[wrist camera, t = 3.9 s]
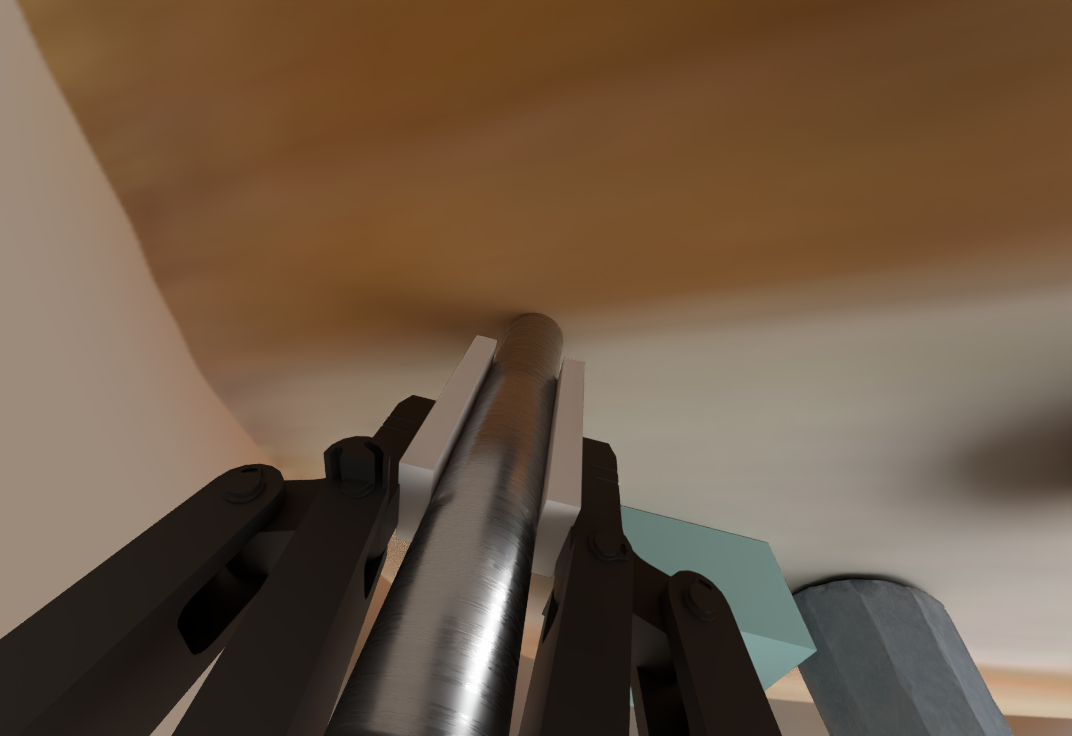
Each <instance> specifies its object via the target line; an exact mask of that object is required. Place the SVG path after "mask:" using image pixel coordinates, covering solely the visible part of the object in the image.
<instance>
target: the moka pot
mask: <svg viewBox="0 0 1072 736" xmlns="http://www.w3.org/2000/svg"><path fill="white" fill-rule="evenodd" d="M792 597H793V599H794V601H795V603H796V605H797V608H798V610H799V612H800V614H801V616H802V619H803V621H804V623H805V625H806V627H807V629H808V632H809V634H810V636H811V638H812V640H813V643H814V645H815V647H816V649H817V651H816V652H814V653H813V654H812V655H810V656H809V657H808V658H807V659H805V660H804V661H803V662H801V663H800V664H799V665H797V666H798V668H799V671H800V673H801V675H802V677H803V679H804V682H805V684H806V686H807V688H808V690H809V692H810V694H811V696H812V698H813V701H814V703H815V705H816V707H817V709H818V711H819V714H820V716H821V718H822V720H823V722H824V724H825V726H826V728H827V730H828V732H829V734H830V736H1014V735H1013V733H1012V731H1011V729H1010V727H1009V725H1008V724H1007V722H1006V720H1005V718H1004V716H1003V714H1002V713H1001V711H1000V710H999V708H998V706H997V705H996V703H995V701H994V700H993V698H992V696H991V694H990V692H989V690H988V688H987V686H986V684H985V682H984V680H983V678H982V676H981V674H980V672H979V671H978V669H977V667H976V665H975V663H974V661H973V660H972V658H971V656H970V654H969V652H968V650H967V648H966V646H965V644H964V642H963V640H962V638H961V637H960V635H959V633H958V631H957V629H956V627H955V625H954V624H953V622H952V620H951V618H950V616H949V614H948V613H947V612H946V610H945V609H944V605H943V604H942V603H941V602H939V601H938V600H936V599H935V598H934V597H932V596H930V595H928V594H927V593H926V592H923V591H921V590H919V589H916V588H912V587H907V586H904V585H901V584H898V583H895V582H889V581H881V580H859V579H850V580H844V581H835V582H830V583H827V584H823V585H819V586H815V587H809V588H808V589H806V590H803V591H801V592H799V593H797V594H795V595H793V596H792Z"/></svg>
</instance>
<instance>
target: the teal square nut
mask: <svg viewBox="0 0 1072 736" xmlns="http://www.w3.org/2000/svg"><path fill="white" fill-rule="evenodd" d="M621 517H622V528H623V533H624V535H625V536H626V537H627V539H628V541H629V542H630V544H631V546H632V549H633V551H634V552H635V553H636V554H637V555H638V556H639V557H640V558H641V559H643V560H644V561H646V562H647V563H649V564H650V565H652V566H654V567H656V568H657V569H659V570H661V571H662V572H664V573H666V574H668V575H669V576H672V575H674V574H675V573H676V572H678V571H683V570H690V571H693V572H696V573H699V574H702V575H703V576H704V577H706V578H707V579H709V580H710V581H712V582H713V583H714V584H715V585H716V586H717V587H718V589H719V590H720V591H721V592H722V593H723V595H724V596H725V598H726V600H727V602H728V604H729V605H730V608H731V610H732V613H733V615H734V618H735V620H736V623H737V625H738V628H739V630H740V633H741V635H742V638H743V640H744V643H745V645H746V648H747V650H748V652H749V655H750V657H751V660H752V662H753V665H754V667H755V670H756V672H757V675H758V677H759V680H760V682H761V685H762V687H763V690H764V691H765V690H766V689H768V688H769V687H770V686H771V685H773V684H774V683H775V682H777V681H778V680H779V679H781V678H782V677H783V676H784V675H786V674H787V673H788V672H790V671H791V670H792V669H794V668H795V667H796V666H797V665H799V664H800V663H801V662H803V661H804V660H805V659H807V658H808V657H809V656H810V655H812V654H813V653H814V652H816V651H817V649H816V647H815V645H814V643H813V640H812V638H811V636H810V634H809V632H808V629H807V627H806V625H805V623H804V621H803V619H802V616H801V614H800V612H799V610H798V608H797V605H796V603H795V601H794V599H793V597H792V594H791V592H790V590H789V588H788V586H787V583H786V581H785V579H784V577H783V575H782V573H781V570H780V568H779V566H778V564H777V562H776V559H775V557H774V555H773V553H772V551H771V548H770V546H769V544H768V543H766V542H762V541H758V540H754V539H750V538H746V537H742V536H738V535H734V534H730V533H726V532H723V531H719V530H715V529H711V528H707V527H703V526H699V525H695V524H691V523H687V522H683V521H679V520H675V519H671V518H667V517H663V516H659V515H655V514H652V513H648V512H644V511H640V510H636V509H632V508H628V507H624V506H621ZM630 706H633V707H634V704H633V698H632V691H631V687H630Z"/></svg>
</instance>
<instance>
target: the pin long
mask: <svg viewBox="0 0 1072 736" xmlns="http://www.w3.org/2000/svg"><path fill="white" fill-rule="evenodd" d="M562 346H563V336H562V332H561V330H560V328H559V326H558V325H557V324H556V323H555V322H554V321H553V320H552V319H551V318H549V317H547V316H545V315H542V314H537V313H529V314H525V315H522V316H520V317H518V318H517V319H515V320H514V321H513V322H512V323H511V325H510V326H509V329H508V331H507V333H506V335H505V337H504V340H503V342H502V344H501V346H500V348H499V351H498V353H497V355H496V357H495V359H494V362H493V364H492V366H491V368H490V370H489V373H488V375H487V377H486V379H485V381H484V384H483V386H482V388H481V390H480V392H479V395H478V397H477V399H476V401H475V403H474V406H473V408H472V410H471V412H470V414H469V417H468V419H467V421H466V423H465V425H464V428H463V430H462V432H461V434H460V436H459V439H458V441H457V443H456V445H455V447H454V450H453V452H452V454H451V456H450V458H449V461H448V463H447V465H446V467H445V469H444V471H443V474H442V476H441V478H440V480H439V482H438V485H437V487H436V489H435V491H434V493H433V496H432V498H431V500H430V502H429V504H428V506H427V509H426V511H425V513H424V515H423V517H422V520H421V522H420V524H419V526H418V528H417V531H416V533H415V535H414V537H413V539H412V542H411V544H410V546H409V548H408V550H407V553H406V555H405V557H404V559H403V561H402V564H401V566H400V568H399V570H398V572H397V575H396V577H395V579H394V581H393V583H392V585H391V588H390V590H389V592H388V594H387V597H386V599H385V601H384V604H383V605H382V608H381V610H380V612H379V614H378V616H377V618H376V621H375V623H374V625H373V627H372V629H371V632H370V634H369V636H368V638H367V640H366V643H365V645H364V647H363V649H362V651H361V654H360V656H359V658H358V660H357V662H356V665H355V667H354V669H353V671H352V673H351V675H350V678H349V680H348V682H347V684H346V687H345V689H344V691H343V693H342V695H341V698H340V700H339V702H338V704H337V706H336V709H335V711H334V713H333V715H332V717H331V720H330V722H329V724H328V726H327V728H326V730H325V733H324V735H323V736H509V731H510V724H511V717H512V709H513V702H514V695H515V688H516V680H517V673H518V666H519V659H520V651H521V644H522V637H523V630H524V622H525V615H526V608H527V600H528V593H529V586H530V579H531V571H532V564H533V557H534V550H535V542H536V535H537V524H538V516H539V509H540V502H541V495H542V488H543V480H544V473H545V466H546V459H547V452H548V445H549V437H550V430H551V423H552V416H553V409H554V402H555V394H556V387H557V380H558V375H559V368H560V360H561V353H562Z"/></svg>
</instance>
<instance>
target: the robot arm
mask: <svg viewBox="0 0 1072 736" xmlns="http://www.w3.org/2000/svg"><path fill="white" fill-rule="evenodd" d="M496 343H497V340H495V339H491V338H487V337H483V336H479V335H477V336H476V337H475V339H474V341H473V342H472V344H471V346H470V347H469V349H468V350H467V352H466V354H465V355H464V357H463V359H462V360H461V362H460V364H459V365H458V367H457V368H456V370H455V372H454V373H453V375H452V377H451V378H450V380H449V382H448V383H447V385H446V386H445V388H444V390H443V391H442V393H441V395H440V396H439V398H438V400H437V401H435V400H431V399H427V398H423V397H419V396H415V395H412V396H410V397H408V398H407V399H405V400H403V401H401V402H400V403H399V404H398V405H397V406H396V407H395V409H394V410H393V411H392V413H391V414H390V417H388V418H387V419H386V421H385V422H384V423H383V426H381V427H380V429H379V430H378V431H377V433H376V434H375V435H374V437H373V438H371V437H368V436H354V437H350V438H345V439H342V440H340V441H338V442H336V443H334V444H332V445H331V446H330V447H329V448H328V449H327V450H326V451H325V452H324V462H325V473H326V478H323V479H315V480H284V479H283V477H282V474H281V472H280V471H279V470H277V469H276V468H274V467H273V466H269V465H264V464H251V465H244V466H241V467H238V468H234V469H231V470H229V471H227V472H225V473H224V474H222V475H220V476H218V477H217V478H215V479H214V480H213V481H212V482H210V483H209V484H208V485H206V486H205V487H203V488H202V489H201V490H199V491H198V492H197V493H195V494H194V495H193V496H192V497H190V498H189V499H188V500H186V501H185V502H183V503H182V504H181V505H179V506H178V507H177V508H175V509H174V510H173V511H171V512H170V513H169V514H167V515H166V516H165V517H163V518H162V519H161V520H159V521H158V522H157V523H155V524H154V525H153V526H151V527H150V528H149V529H147V530H146V531H144V532H143V533H142V534H141V535H139V536H138V537H136V538H135V539H134V540H132V541H131V542H130V543H129V544H127V545H126V546H124V547H123V548H122V549H121V550H119V551H118V552H116V553H115V554H114V555H113V556H111V557H110V558H108V559H107V560H106V561H105V562H103V563H102V564H100V565H99V566H98V567H96V568H95V569H94V570H93V571H91V572H90V573H88V574H87V575H86V576H84V577H83V578H82V579H80V580H79V581H78V582H76V583H75V584H74V585H72V586H71V587H70V588H68V589H67V590H66V591H64V592H63V593H62V594H60V595H59V596H58V597H56V598H55V599H54V600H52V601H51V602H50V603H48V604H47V605H46V606H44V607H43V608H42V609H40V610H39V611H38V612H36V613H35V614H34V615H32V616H31V617H30V618H28V619H27V620H26V621H24V622H23V623H21V624H20V625H19V626H18V627H16V628H15V629H13V630H12V631H11V632H10V633H8V634H7V635H6V636H4V637H3V638H2V639H0V736H150V734H151V733H152V732H153V731H154V730H155V729H156V727H157V726H158V725H159V724H160V723H161V722H162V720H163V719H164V718H165V717H166V716H167V714H168V713H169V712H170V711H171V710H172V709H173V707H174V706H175V705H176V704H177V703H178V701H179V700H180V699H181V698H182V697H183V696H184V695H185V693H186V692H187V691H188V689H190V688H191V686H192V685H193V684H194V683H195V682H196V680H197V679H198V678H199V677H200V676H201V675H202V673H203V672H204V671H205V670H206V669H207V668H208V666H209V665H210V664H211V663H212V662H213V660H214V659H215V658H216V657H217V655H218V654H219V653H220V652H221V651H222V650H223V649H224V650H223V651H222V653H221V655H220V656H219V658H218V660H217V661H216V663H215V665H214V666H213V668H212V670H211V671H210V673H209V675H208V676H207V678H206V680H205V681H204V683H203V685H202V686H201V688H200V689H199V691H198V693H197V694H196V696H195V698H194V700H193V701H192V703H191V704H190V706H189V708H188V709H187V711H186V713H185V715H184V716H183V718H182V719H181V721H180V723H179V724H178V726H177V727H176V729H175V731H174V733H173V734H172V736H323V735H324V733H325V730H326V728H327V725H328V722H329V720H330V717H331V714H332V711H333V708H334V705H335V702H336V699H337V697H338V694H339V691H340V688H341V685H342V682H343V679H344V677H345V674H346V671H347V668H348V665H349V663H350V660H351V657H352V654H353V651H354V648H355V646H356V643H357V640H358V637H359V634H360V631H361V628H362V625H363V623H364V620H365V617H366V614H367V611H368V608H369V606H370V603H371V600H372V597H373V594H374V591H375V588H376V586H377V583H378V580H379V577H380V574H381V571H382V569H383V566H384V563H385V560H386V556H387V549H388V542H389V540H390V538H391V536H392V534H393V532H394V531H395V529H396V539H399V540H403V541H407V542H412V539H413V537H414V535H415V533H416V531H417V528H418V526H419V524H420V522H421V520H422V517H423V515H424V513H425V511H426V509H427V506H428V504H429V502H430V500H431V498H432V496H433V493H434V491H435V489H436V487H437V485H438V482H439V480H440V478H441V476H442V474H443V471H444V469H445V467H446V465H447V463H448V461H449V458H450V456H451V454H452V452H453V450H454V447H455V445H456V443H457V441H458V439H459V436H460V434H461V432H462V430H463V428H464V425H465V423H466V421H467V419H468V417H469V414H470V412H471V410H472V408H473V406H474V403H475V401H476V399H477V397H478V395H479V392H480V390H481V388H482V386H483V384H484V381H485V379H486V377H487V375H488V373H489V370H490V368H491V366H492V364H493V359H494V354H495V349H496ZM583 400H584V362H581V361H577V360H573V359H569V358H566V357H564V360H563V363H562V367H561V370H560V373H559V377H558V380H557V387H556V394H555V402H554V409H553V416H552V423H551V430H550V437H549V445H548V452H547V459H546V466H545V473H544V480H543V488H542V495H541V502H540V509H539V516H538V524H537V535H536V542H535V550H534V557H533V564H532V571H531V573H534V574H538V575H542V576H546V577H550V578H551V577H552V575H553V572H554V570H555V580H554V588H553V590H552V592H551V594H550V597H549V599H548V601H547V603H546V606H545V608H544V610H543V612H542V615H544V616H545V617H544V622H543V626H542V631H541V636H540V640H539V645H538V649H537V654H536V658H535V663H534V667H533V672H532V676H531V681H530V685H529V690H528V695H527V700H526V703H525V708H524V713H523V717H522V722H521V726H520V731H519V735H518V736H629V724H630V687H631V691H632V698H633V704H634V710H635V716H636V722H637V728H638V734H639V736H782V735H781V732H780V730H779V727H778V725H777V722H776V720H775V717H774V715H773V712H772V710H771V707H770V705H769V702H768V700H767V697H766V695H765V692H764V690H763V687H762V685H761V682H760V680H759V677H758V675H757V672H756V670H755V667H754V665H753V662H752V660H751V657H750V655H749V652H748V650H747V648H746V645H745V643H744V640H743V638H742V635H741V633H740V630H739V628H738V625H737V623H736V620H735V618H734V615H733V613H732V610H731V608H730V605H729V604H728V602H727V600H726V598H725V596H724V595H723V593H722V592H721V591H720V590H719V589H718V587H717V586H716V585H715V584H714V583H713V582H712V581H710V580H709V579H707V578H706V577H704V576H703V575H702V574H699V573H696V572H693V571H690V570H683V571H678V572H676V573H675V574H674V575H672V576H669V575H668V574H666V573H664V572H662V571H661V570H659V569H657V568H656V567H654V566H652V565H650V564H649V563H647V562H646V561H644V560H643V559H641V558H640V557H639V556H638V555H637V554H636V553H635V552H634V551H633V549H632V546H631V544H630V542H629V541H628V539H627V537H626V536H625V535H624V533H623V528H622V517H621V506H620V494H619V485H618V473H617V460H616V456H615V454H614V452H613V451H612V449H611V447H610V445H609V444H608V443H604V442H600V441H596V440H593V439H589V438H585V437H583ZM225 646H226V647H225Z"/></svg>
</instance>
